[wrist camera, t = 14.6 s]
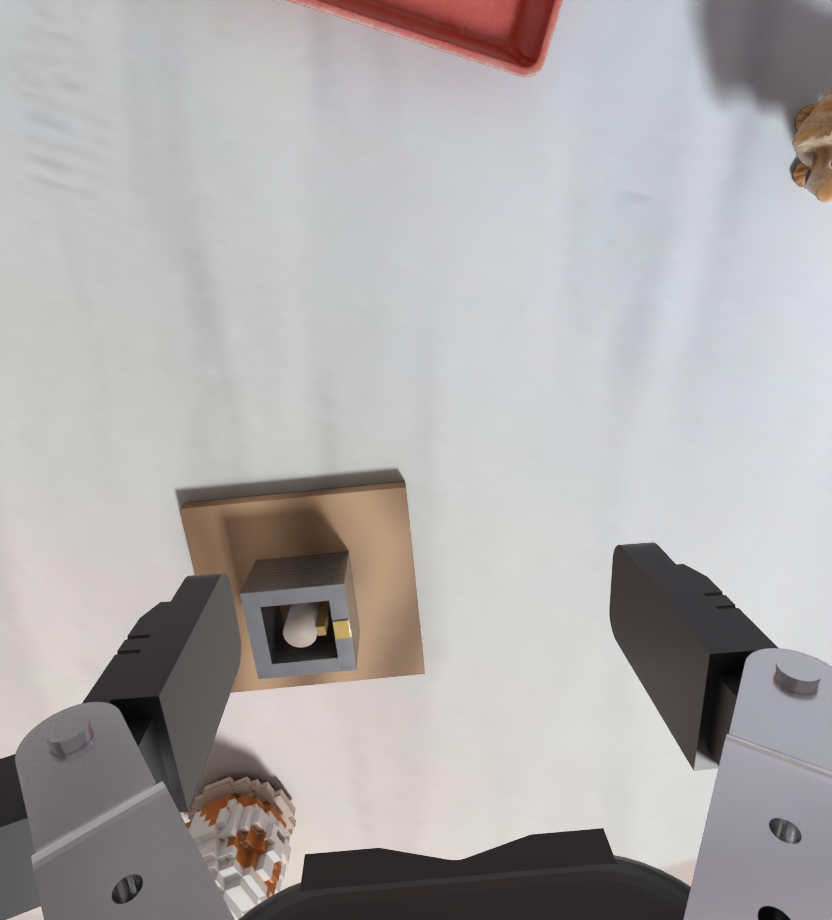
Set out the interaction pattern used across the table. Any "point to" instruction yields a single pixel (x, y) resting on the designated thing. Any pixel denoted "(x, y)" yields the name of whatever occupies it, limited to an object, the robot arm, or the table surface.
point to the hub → (296, 585)
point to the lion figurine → (815, 149)
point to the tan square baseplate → (317, 532)
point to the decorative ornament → (243, 839)
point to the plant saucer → (462, 27)
